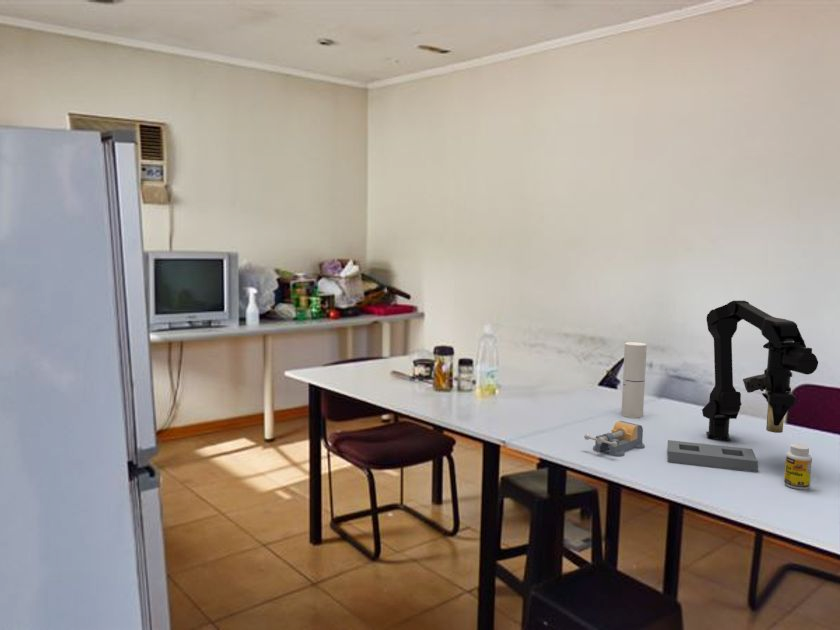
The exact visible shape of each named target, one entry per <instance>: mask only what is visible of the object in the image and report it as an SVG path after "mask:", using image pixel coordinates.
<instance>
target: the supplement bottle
mask: <svg viewBox="0 0 840 630" xmlns="http://www.w3.org/2000/svg"><path fill="white" fill-rule="evenodd" d="M789 450H790V451H788V452H786V454H785V455H786V457H785V464H784V465H785V468H784V478H783V479H784V480H783V483H784V485H785V486H787V487H789V488H790V489H796V490H808V489H809V488H810V485H811V483H810V482H811V475H812V474H811V473H812V463H813V462H812V461H813V457H812V455H810V447H809V446H807V445H804V444H800V443H799V444H797V443H792V444H790V449H789Z"/></svg>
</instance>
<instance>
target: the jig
mask: <svg viewBox="0 0 840 630" xmlns="http://www.w3.org/2000/svg"><path fill="white" fill-rule="evenodd" d="M666 450H667V451H666V452H667V462H668V463H674V464H683V465H691V466H692V465H693V466H701V467H709V468H715V469H716V468H718V469H724V470H725V469H727V470H734V471H735V470H736V471H741V472H742V471H745V472H753V473H757V472H758V463H759V462H758V459H757V457H756V454H755V453H754V450H753V449H752V448H749V447H748V448H747V447H738V446H737V447H736V446H728V445H720V444H719V445H718V444H709V443H701V442H700V443H699V442H698V443H697V442H690V441H681V440H679V441H678V440H673V439H672V440H670V439H668V440H667V449H666Z"/></svg>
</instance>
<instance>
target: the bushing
mask: <svg viewBox="0 0 840 630" xmlns="http://www.w3.org/2000/svg"><path fill="white" fill-rule="evenodd" d="M784 419H785V418H783V419H782V421H781V422H780V424H779V425H778V426H776V425H774V422H773V414H772V406H771V405H770V404H769V403H768V402H767V415H766V429H765V430H766V431H767V432H770V433H775V434H781V433H783V432H784V422H785V421H784Z"/></svg>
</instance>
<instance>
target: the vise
mask: <svg viewBox="0 0 840 630" xmlns="http://www.w3.org/2000/svg"><path fill="white" fill-rule="evenodd" d="M643 433H644V428H643V426H642V425H641V424H637V423H633V422H628V421H624V420H618V421H616V422H615V423H614V425H613V429H611V432H607V433H603V434H602V435H601V434H599V435H596V436H595V437H592V436H590V434H585V435H584V437H583V438H584V439H585V440H586V441H589V440H592V441H595V445H593V446H592V450H594V451H596V452H599V453H601V452H604V451H606V450H609V456H613V457H624V456H625V454H626V452H629V451H630V450H634V449H638V450H640V449H641V450H642V449H645V447H646V446H645V445H646V444H644V442H643V436H644V435H643Z"/></svg>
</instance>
